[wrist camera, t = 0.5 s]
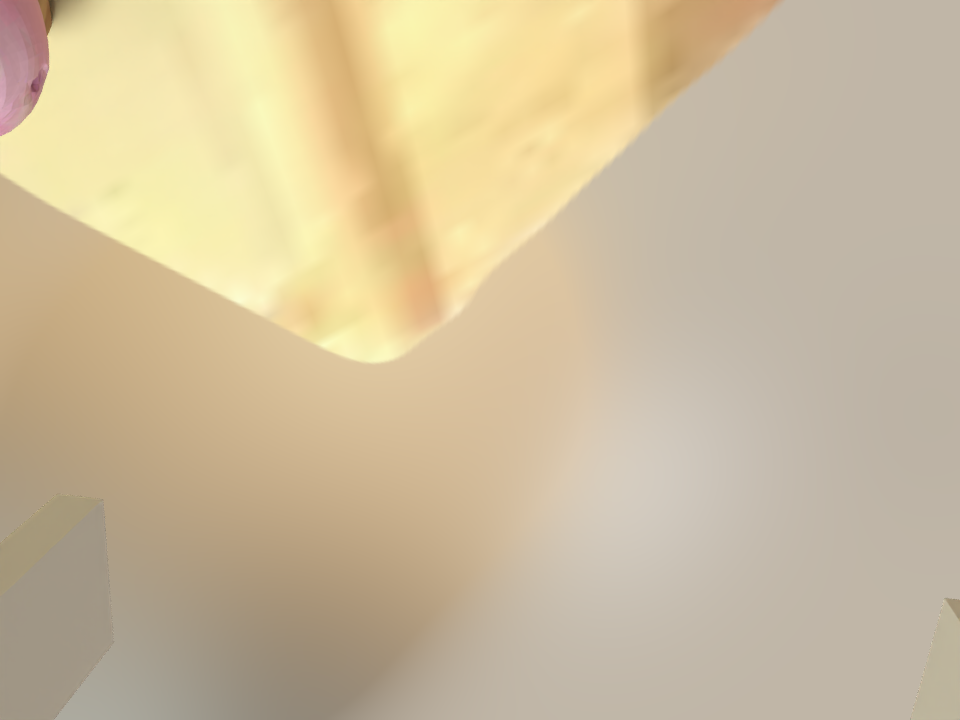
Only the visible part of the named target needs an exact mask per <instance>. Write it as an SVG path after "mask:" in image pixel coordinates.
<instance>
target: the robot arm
mask: <svg viewBox="0 0 960 720" xmlns="http://www.w3.org/2000/svg"><path fill="white" fill-rule="evenodd" d="M113 639H114V638H113V625H112V612H111V598H110V584H109V570H108V558H107V543H106V529H105V516H104V504H103V499H98V498H90V497H82V496H73V495H64V494H57V495H56V496H54V497H53V498H52V499H51V500H50V501H49V502H47V503H46V504H45V505H44V506H43V507H42V508H40V509H39V510H38V511H37V512H36V513H35V514H34V515H32V516H31V517H30V518H29V519H28V520H27V521H25V522H24V523H23V524H22V525H21V526H19V527H18V528H17V529H16V530H15V531H14V532H12V533H11V534H10V535H9V536H8V537H7V538H5V539H4V540H3V541H2V542H1V543H0V720H54V719H55V718H56V716H57V715H58V714H59V712H60V711H61V710H62V709H63V707H64V706H65V705H66V703H67V702H68V701H69V700H70V698H71V697H72V696H73V695H74V693H75V692H76V691H77V689H78V688H79V687H80V686H81V684H82V683H83V682H84V680H85V679H86V678H87V677H88V675H89V674H90V673H91V671H92V670H93V669H94V668H95V666H96V665H97V664H98V662H99V661H100V660H101V659H102V657H103V656H104V655H105V653H106V652H107V651H108V650H109V648H110V647H111V646H112V644H113V643H114V640H113ZM910 720H960V600H957V599H948V598H945V599H944V602H943V605H942V609H941V612H940V616H939V619H938V623H937V627H936V630H935V634H934V637H933V641H932V644H931V648H930V652H929V655H928V659H927V662H926V666H925V669H924V673H923V676H922V680H921V683H920V687H919V690H918V694H917V697H916V701H915V704H914V708H913V712H912V715H911V719H910Z"/></svg>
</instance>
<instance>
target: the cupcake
mask: <svg viewBox="0 0 960 720" xmlns="http://www.w3.org/2000/svg"><path fill="white" fill-rule="evenodd" d="M51 24H52V19H51V12H50V4H49V0H0V136H2V135H4V134H6V133H8V132H10V131H12V130H13V129H14V128H15V127H17V126H18V125H19V124H20V123H21V122H22V121H23V120H24V119H25V118H26V117H27V116H28V115H29V114H30V113H31V111H32V110H33V108H34V106H35V105H36V103H37V101H38V99H39V96H40V94H41V92H42V89H43V85H44V82H45V79H46V76H47V73H48V70H49V49H48V39H47V35H48V33H49V31H50V28H51Z"/></svg>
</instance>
